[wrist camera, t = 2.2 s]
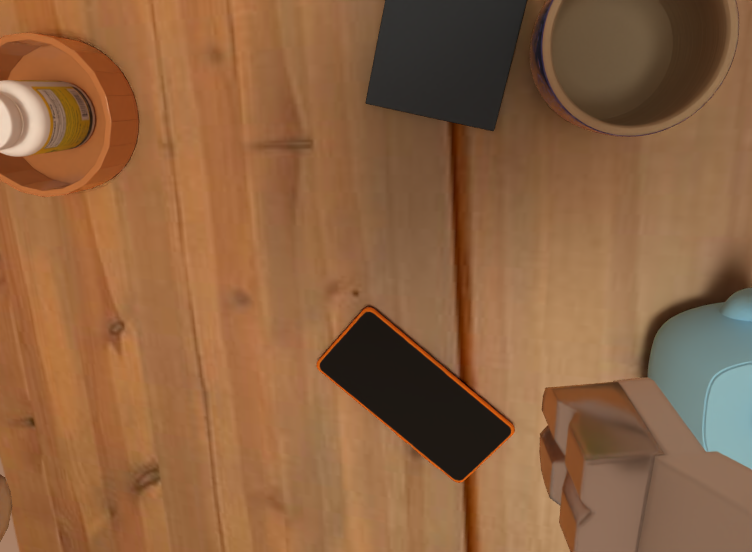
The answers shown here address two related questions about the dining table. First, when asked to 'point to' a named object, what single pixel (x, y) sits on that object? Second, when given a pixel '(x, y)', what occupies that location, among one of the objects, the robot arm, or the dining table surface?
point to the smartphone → (414, 395)
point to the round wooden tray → (108, 97)
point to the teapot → (710, 373)
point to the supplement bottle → (43, 117)
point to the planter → (632, 60)
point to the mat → (445, 58)
